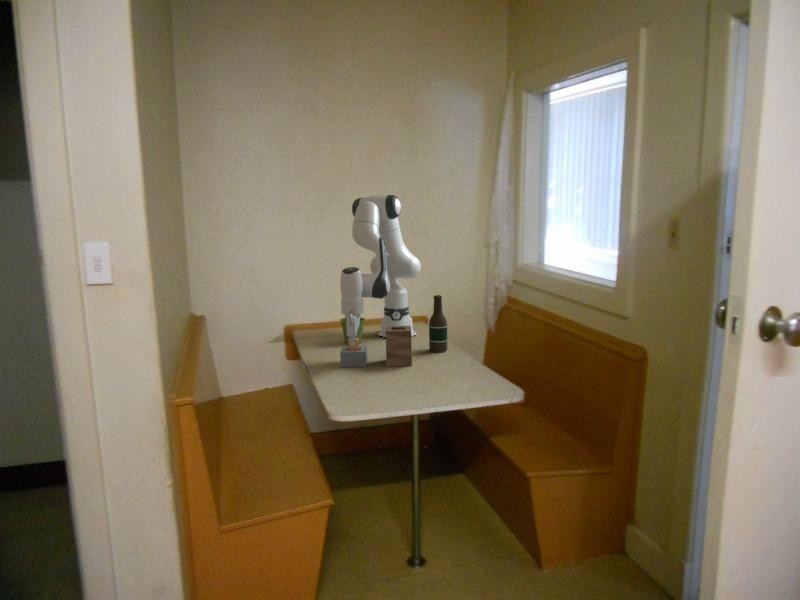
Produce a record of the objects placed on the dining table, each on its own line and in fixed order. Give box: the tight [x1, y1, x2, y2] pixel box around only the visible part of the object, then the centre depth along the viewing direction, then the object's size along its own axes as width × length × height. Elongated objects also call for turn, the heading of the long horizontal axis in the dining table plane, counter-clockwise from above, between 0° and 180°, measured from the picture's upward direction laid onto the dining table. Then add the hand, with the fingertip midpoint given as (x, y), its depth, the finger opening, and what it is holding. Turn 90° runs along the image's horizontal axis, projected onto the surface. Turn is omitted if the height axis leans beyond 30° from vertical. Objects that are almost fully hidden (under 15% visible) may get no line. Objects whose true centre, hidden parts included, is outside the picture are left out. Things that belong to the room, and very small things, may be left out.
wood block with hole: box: [385, 326, 413, 367], centre depth 239 cm, size 10×10×14 cm
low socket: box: [339, 345, 369, 368], centre depth 240 cm, size 10×10×6 cm
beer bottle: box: [428, 294, 448, 353], centre depth 256 cm, size 8×8×24 cm
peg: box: [347, 338, 360, 351], centre depth 240 cm, size 3×4×8 cm
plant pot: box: [339, 316, 366, 345], centre depth 274 cm, size 12×12×11 cm
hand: (353, 342), depth 239 cm, fingers open, 8 cm apart
